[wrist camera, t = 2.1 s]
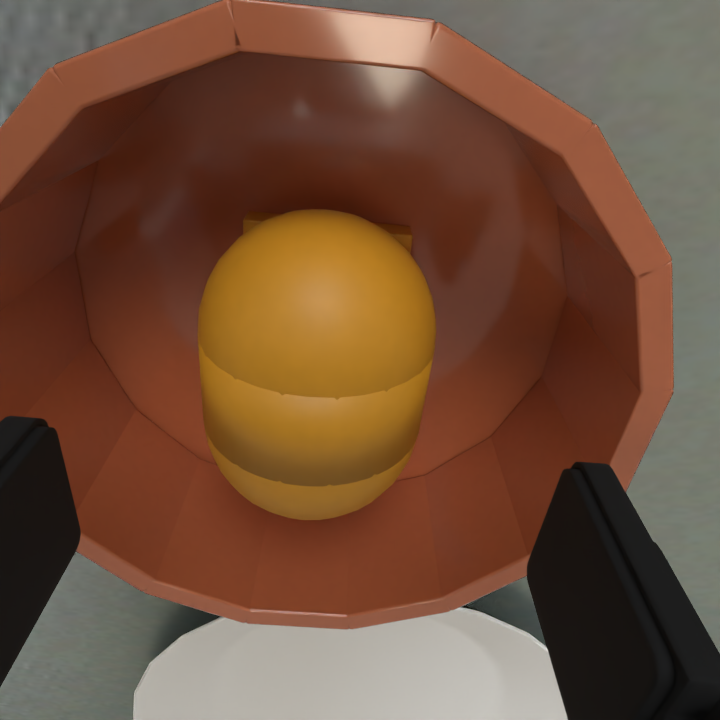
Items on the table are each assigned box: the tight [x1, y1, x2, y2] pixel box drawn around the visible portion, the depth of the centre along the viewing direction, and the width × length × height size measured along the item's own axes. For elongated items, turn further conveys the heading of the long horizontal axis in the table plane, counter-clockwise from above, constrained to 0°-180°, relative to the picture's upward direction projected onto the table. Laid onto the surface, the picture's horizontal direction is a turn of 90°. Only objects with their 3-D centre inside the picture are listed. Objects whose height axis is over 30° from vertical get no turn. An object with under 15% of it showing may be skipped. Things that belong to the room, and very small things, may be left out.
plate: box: [133, 607, 568, 720], centre depth 27 cm, size 21×21×2 cm
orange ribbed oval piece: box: [198, 209, 436, 520], centre depth 14 cm, size 8×6×6 cm
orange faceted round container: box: [0, 0, 674, 630], centre depth 14 cm, size 15×15×6 cm
